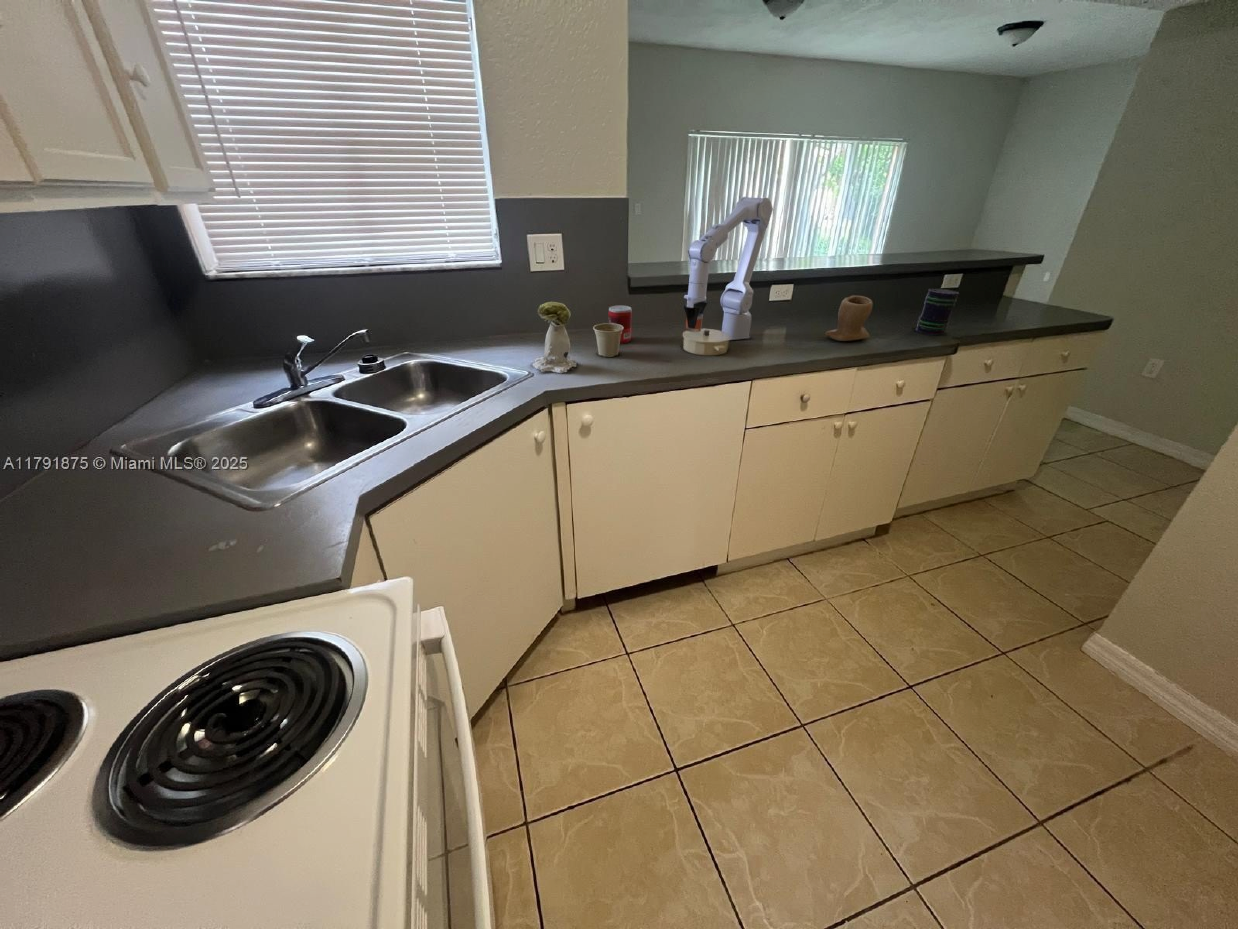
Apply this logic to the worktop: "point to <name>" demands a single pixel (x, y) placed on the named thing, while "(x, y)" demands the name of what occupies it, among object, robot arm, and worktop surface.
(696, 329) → the tin can
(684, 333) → the pot lid
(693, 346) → the pot
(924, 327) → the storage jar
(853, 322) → the brown clay vase
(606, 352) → the flower pot
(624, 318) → the canned food
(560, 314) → the mossy mushroom figurine
